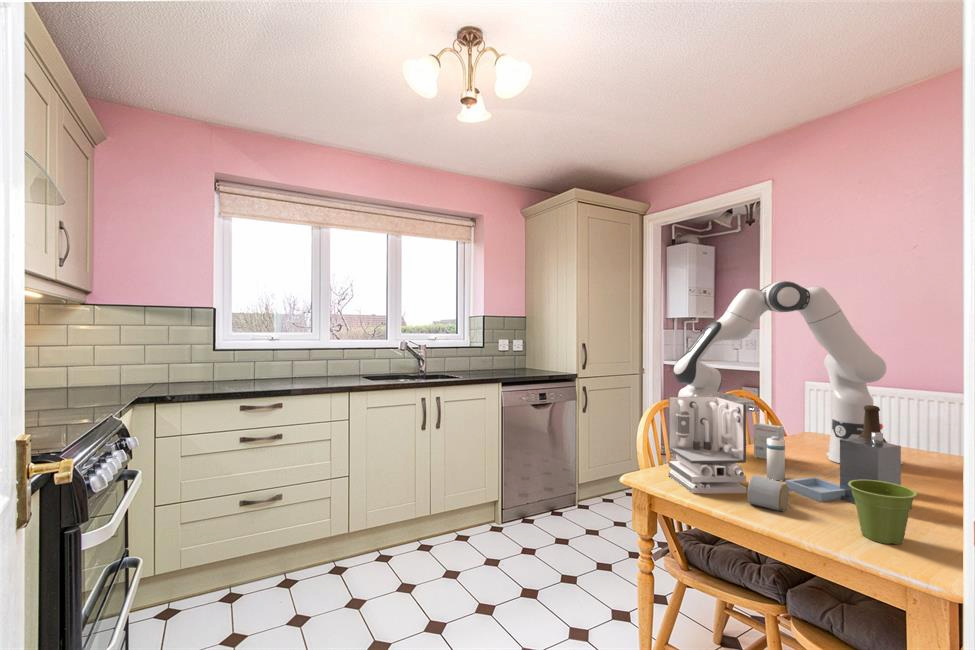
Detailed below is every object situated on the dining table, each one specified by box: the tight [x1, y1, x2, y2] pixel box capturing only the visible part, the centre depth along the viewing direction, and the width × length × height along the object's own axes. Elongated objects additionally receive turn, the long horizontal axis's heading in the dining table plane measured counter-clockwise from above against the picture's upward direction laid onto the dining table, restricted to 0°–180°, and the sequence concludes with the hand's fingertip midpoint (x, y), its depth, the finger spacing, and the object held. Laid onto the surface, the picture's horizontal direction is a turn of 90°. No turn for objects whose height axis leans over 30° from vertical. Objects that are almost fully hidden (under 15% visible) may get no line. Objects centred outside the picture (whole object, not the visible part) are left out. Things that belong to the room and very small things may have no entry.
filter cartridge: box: [766, 436, 786, 481], centre depth 149 cm, size 5×5×13 cm
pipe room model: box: [668, 396, 747, 494], centre depth 142 cm, size 16×19×25 cm
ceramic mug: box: [747, 474, 790, 512], centre depth 127 cm, size 11×8×8 cm
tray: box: [785, 476, 845, 503], centre depth 136 cm, size 11×11×2 cm
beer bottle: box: [858, 404, 888, 443], centre depth 140 cm, size 8×8×24 cm
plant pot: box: [848, 480, 918, 545], centre depth 107 cm, size 12×12×11 cm
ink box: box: [753, 422, 785, 460], centre depth 172 cm, size 9×5×12 cm, turn 42°
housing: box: [839, 432, 912, 510], centre depth 129 cm, size 11×13×19 cm
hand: (743, 409), depth 161 cm, fingers open, 8 cm apart
